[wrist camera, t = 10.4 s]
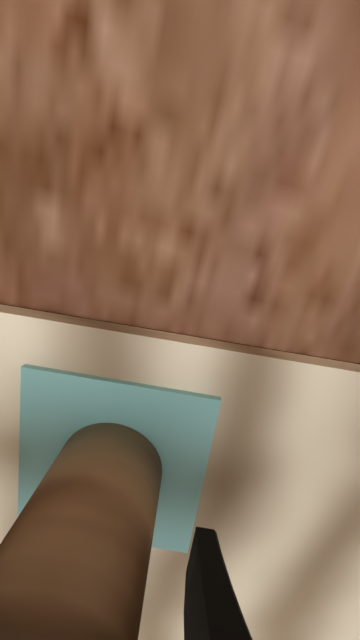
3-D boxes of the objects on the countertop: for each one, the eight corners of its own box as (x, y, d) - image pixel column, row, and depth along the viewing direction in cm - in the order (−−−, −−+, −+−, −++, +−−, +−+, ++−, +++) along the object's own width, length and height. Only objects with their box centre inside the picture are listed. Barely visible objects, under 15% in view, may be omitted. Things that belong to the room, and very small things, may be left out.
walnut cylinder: (154, 516, 13) (123, 730, 7) (58, 500, 13) (-49, 698, 8) (169, 432, 12) (144, 606, 6) (63, 414, 12) (-58, 571, 6)
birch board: (464, 381, 12) (487, 393, 11) (300, 745, 19) (306, 772, 18) (-8, 302, 12) (-25, 307, 12) (-6, 692, 19) (-17, 717, 18)
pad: (220, 396, 12) (221, 400, 12) (187, 546, 14) (187, 553, 14) (25, 363, 12) (21, 366, 12) (21, 518, 14) (17, 524, 14)
